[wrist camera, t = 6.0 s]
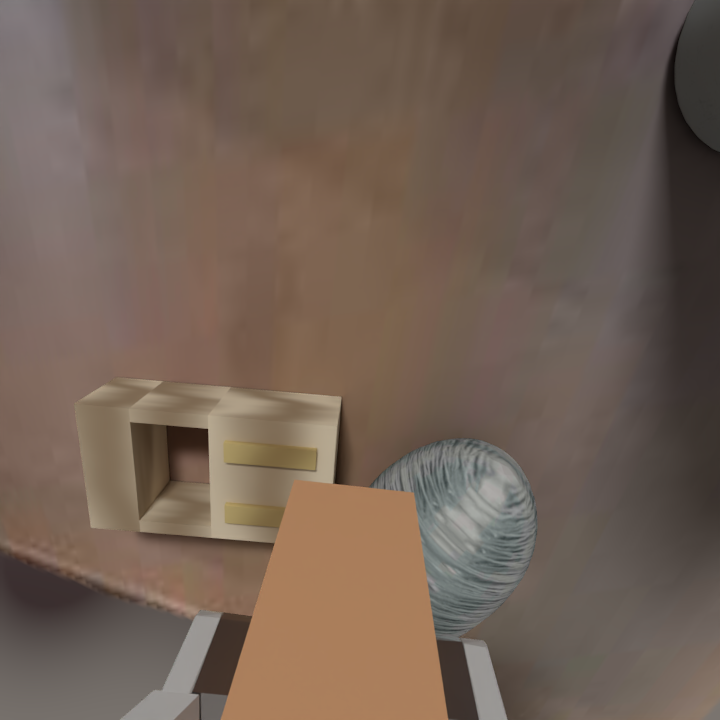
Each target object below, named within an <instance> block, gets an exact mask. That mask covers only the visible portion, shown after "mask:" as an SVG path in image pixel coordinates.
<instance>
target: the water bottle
mask: <svg viewBox="0 0 720 720" xmlns="http://www.w3.org/2000/svg"><path fill="white" fill-rule="evenodd" d="M675 89H676V94H677V99H678V105H679V107H680V109H681V112H682V114H683V116H684V118H685V121H686V122H687V124H688V125H689V126H690V128H691V129H692V130H693V132H694V133H695V134H696V136H697V137H698V138H699V139H701V140H702V141H703V142H704V143H706V144H707V145H708V146H709V147H711V148H712V149H714V150H716V151H718V152H720V0H695V1H694V3H693V5H692V7H691V9H690V11H689V12H688V14H687V17H686V20H685V23H684V26H683V29H682V32H681V35H680V38H679V41H678V47H677V53H676V59H675Z"/></svg>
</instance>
